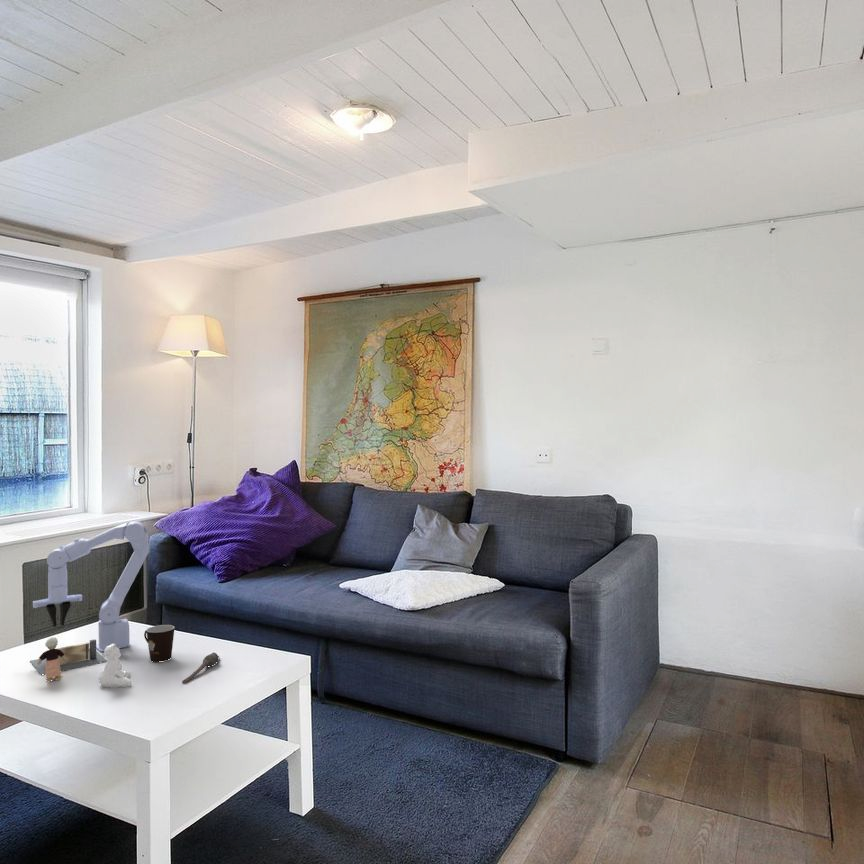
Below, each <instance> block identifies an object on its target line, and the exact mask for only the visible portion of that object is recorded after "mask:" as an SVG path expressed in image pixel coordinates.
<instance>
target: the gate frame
mask: <svg viewBox="0 0 864 864" xmlns="http://www.w3.org/2000/svg"><path fill="white" fill-rule="evenodd" d="M96 645H97V639H91V640H89V659H85V660H81V661H76V662H71V663H66V664H62V665H60V670H61V672H64V671H63V670H65V671H68V670H69V669H70V670H74V669H78V668H83V666H84V667H87V665H88V666H93V665H96V663H98V664H101V663H100V662H102V663H106V661H108V659H107V658H105V656H103V655H101V653H100V652H98V651H97V648H96ZM46 659H47V658H46ZM46 659H44V660H42V662H41V664H40V665H38V664H37V662H38V660H39V658H38V659H33V660H29V662H30V664H31V663H32V664H31V665H32V666H33V667H34V669H35V668H36V669H37V670H38V671H37V670H36V669H35V670H36V671H37V672H38V674H39V673H40V674H41V675H40V674H39V675H40V676H43V675H42V674H46ZM92 664H93V665H92Z"/></svg>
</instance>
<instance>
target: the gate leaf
mask: <svg viewBox="0 0 864 864" xmlns="http://www.w3.org/2000/svg"><path fill="white" fill-rule="evenodd" d="M57 649H59V650H61V651H62V652H63V653H64V654H65V656H66V658H67V660H66V661H63V659H62V657H60V656H58V658H59V661H60V665H62V664H66V663H71V662H76V661H81V660H85V659H89V649H90V642H83V643H77V644H75V645H74V644H73V645H68V646H64V647H59V648H57Z"/></svg>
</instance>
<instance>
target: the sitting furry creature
mask: <svg viewBox="0 0 864 864" xmlns="http://www.w3.org/2000/svg"><path fill="white" fill-rule="evenodd" d="M120 649H121V648H117V647H116V646H115V644H111V645H110V646H107V647H106V648H105V651H103V653H104V658H105V657H106V658H105V659H106V660H107V662H105V666H104V669H103V670H102V672H101V674H100V676H99V678H98V680H99V684H100V685H101V686H103V687H104V688H109V689H110V688H129V687H131V686H132V679H130V678H131V675H132V674H131V672H130V671H128V670H123V669H122V667H123V666H122V663H121V659H120V657H121V656H122V654H121V651H120Z"/></svg>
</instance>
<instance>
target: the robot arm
mask: <svg viewBox="0 0 864 864" xmlns="http://www.w3.org/2000/svg"><path fill="white" fill-rule="evenodd" d="M125 538H126V540H127V541H128V542H129V543H130V544H131V547H132V549H133V553H132V554H131V556H130V558H129V560H128V562H127V564H126V566H125V567H124V570H123V571H122V573H121V575H120V577H119V579H118V581H117V583H116V584H115V586H114V588H113V590H112V591H111V593H110V595H109V597H108V598H107V599H106V600H104V601H103V602H102V604H101V605H100V609H99V612H98V618H99V620H98V621H97V622H98V624H97V625H98V626H97V627H98V644H96V650H98V651H99V652H103V653H104V651H105V648H106V647H107V646H110V645H111V644H115V646H116V647H117V648H119V649H122V648H127V646H128V647H131V644H130V624H129V623H130V622H129V619H127V618H122V617H120V611H121V607H122V605H123V603H124V600H125V598H126V596H127V594H128V593H129V591H130V588H131V586H132V585H133V583H134V581H135V579H136V578H137V575H138V574H139V572H140V569H141V568H142V566H143V564H144V562H145V561H146V558H147V557H148V554H149V553H150V544H149V537H148V531H147V528H146V527H145V525H144V523H143V522H142V521H141V520H137V519H136V520H131V521H128V522H125V523H122V524H119V525H116V526H114V527H111V528H110V529H107V530H105V531H103V532H102V533H99V534H97V535H94V536H92V537H91V538H89V539H86V538H79V537H77V538H74V540H73V541H72V542H70V543H68V544H66V545H63V544H62V545H60V546H59V548H55V549H53V550H52V551H51V552H50V553H49V554H48V555H47V558H46V564H47V565H48V567H47V571H48V572H47V592H48V593H47V598H43V599H38V600H33V601H32V608H33V609H37V608H40V607H42V608H43V607H45V609H46V611H47V613H48V614H49V617H50V620H51V623H52V627H54V628H55V627H57V607H56V605H59V610H60V611H59V612H60V615H59V616H60V618H59V624H60V626H65V622H66V621H65V620H66V617H67V616H68V612H69V610H70V609H71V607H72V604H71V603H74V602H82V601H83V594H72V595H68V569H67V562H69V563H70V562H73V561H75V560H77V559H80V558H82V557H84V556H87V555H88V554H90V553H91V551H92V549H93V548H95V547H97V546H100V545H103V544H105V543H107V542H109V541H112V540H115V539H116V540H123V541H124V539H125Z"/></svg>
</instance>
